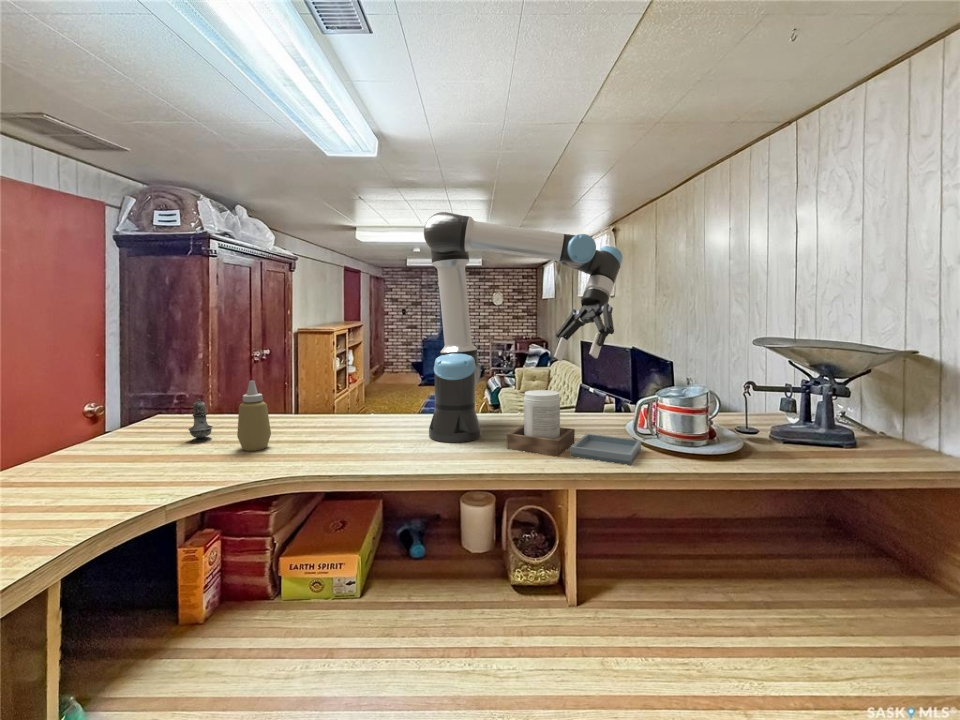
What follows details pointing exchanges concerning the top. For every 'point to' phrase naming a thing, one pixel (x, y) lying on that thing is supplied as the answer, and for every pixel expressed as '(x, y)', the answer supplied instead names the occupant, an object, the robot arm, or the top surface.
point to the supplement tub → (542, 414)
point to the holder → (540, 442)
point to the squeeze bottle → (253, 421)
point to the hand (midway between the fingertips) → (574, 357)
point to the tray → (606, 448)
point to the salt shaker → (200, 424)
